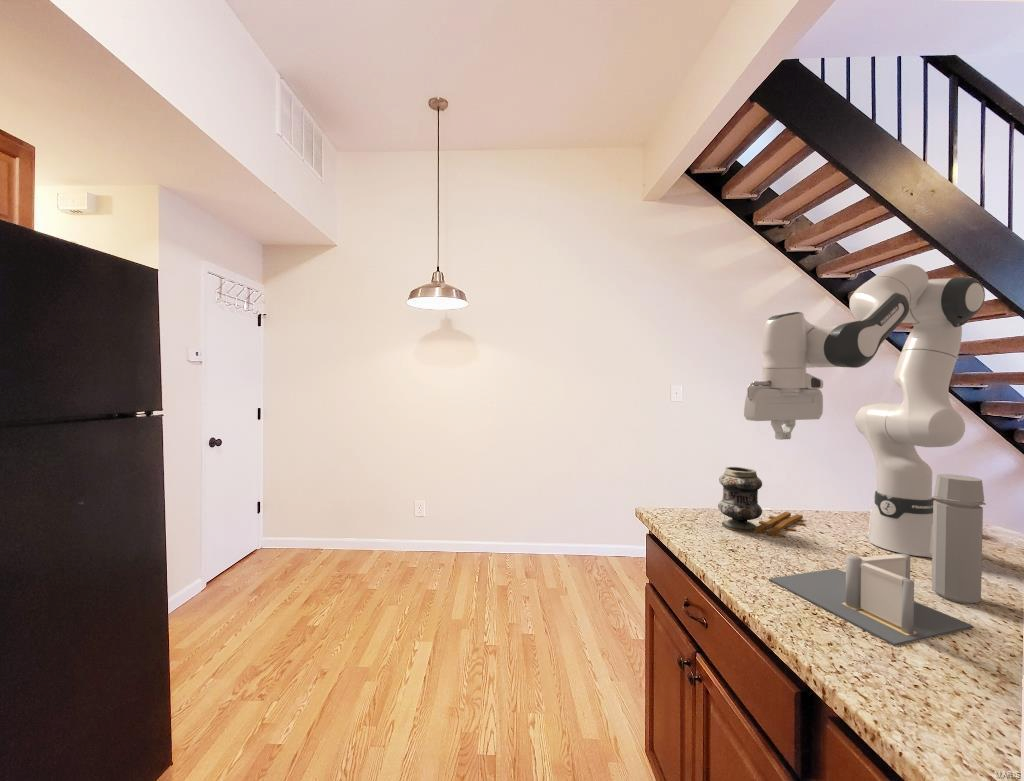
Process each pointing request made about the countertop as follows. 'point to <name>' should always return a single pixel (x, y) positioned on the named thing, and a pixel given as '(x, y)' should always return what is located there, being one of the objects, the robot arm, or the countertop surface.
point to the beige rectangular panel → (891, 563)
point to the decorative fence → (781, 525)
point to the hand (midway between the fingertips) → (783, 439)
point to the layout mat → (831, 596)
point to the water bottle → (957, 538)
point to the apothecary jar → (740, 498)
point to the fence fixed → (880, 593)
